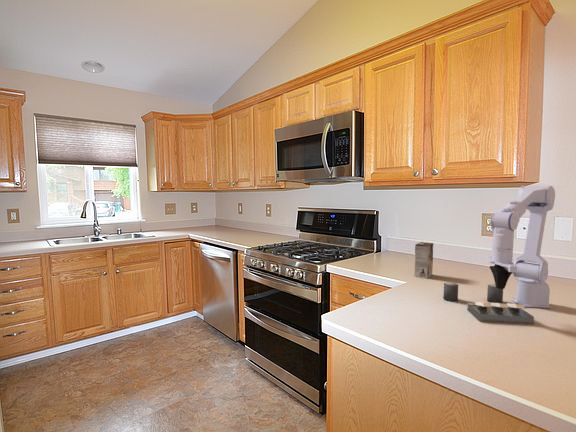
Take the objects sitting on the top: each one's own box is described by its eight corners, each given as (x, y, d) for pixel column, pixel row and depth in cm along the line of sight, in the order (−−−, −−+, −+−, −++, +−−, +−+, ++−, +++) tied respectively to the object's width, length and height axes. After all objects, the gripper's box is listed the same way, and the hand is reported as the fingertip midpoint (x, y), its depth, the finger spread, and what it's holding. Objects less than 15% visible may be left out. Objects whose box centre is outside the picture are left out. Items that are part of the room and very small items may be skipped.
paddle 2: (506, 306, 113) (506, 303, 113) (514, 306, 112) (514, 303, 112) (516, 308, 107) (516, 304, 107) (524, 308, 106) (524, 304, 107)
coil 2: (498, 299, 128) (499, 283, 127) (505, 304, 123) (506, 287, 122) (484, 299, 128) (485, 283, 128) (490, 303, 123) (491, 287, 123)
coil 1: (454, 297, 130) (455, 282, 129) (459, 302, 125) (460, 285, 124) (441, 297, 131) (442, 281, 130) (445, 301, 126) (446, 285, 125)
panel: (516, 312, 114) (516, 303, 114) (533, 324, 105) (534, 314, 104) (467, 310, 117) (467, 301, 116) (479, 321, 107) (480, 311, 106)
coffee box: (419, 272, 168) (420, 241, 167) (432, 274, 164) (433, 243, 163) (413, 276, 161) (415, 244, 159) (427, 278, 157) (429, 245, 155)
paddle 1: (475, 304, 114) (475, 301, 114) (483, 305, 114) (483, 301, 114) (483, 306, 108) (483, 302, 108) (491, 306, 108) (491, 303, 108)
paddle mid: (491, 305, 113) (491, 302, 113) (498, 305, 113) (498, 302, 113) (500, 307, 107) (499, 303, 108) (507, 307, 107) (507, 304, 107)
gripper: (479, 244, 116) (478, 281, 117) (500, 251, 102) (498, 294, 103) (501, 244, 115) (499, 282, 116) (525, 252, 101) (522, 295, 102)
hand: (500, 288), depth 110 cm, fingers closed
